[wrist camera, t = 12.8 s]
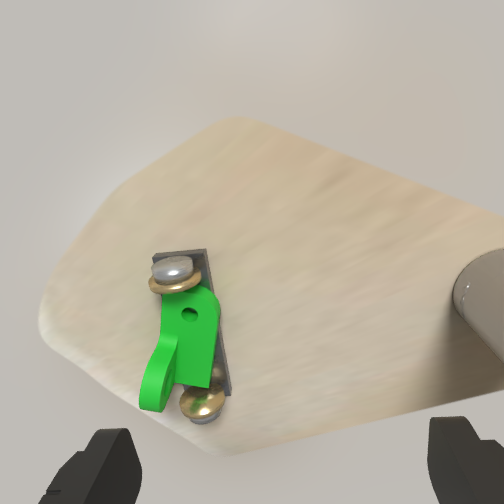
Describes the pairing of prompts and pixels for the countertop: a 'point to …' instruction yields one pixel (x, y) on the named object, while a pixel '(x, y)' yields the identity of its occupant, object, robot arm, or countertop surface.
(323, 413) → the countertop surface
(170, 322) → the mechanical part
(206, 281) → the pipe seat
